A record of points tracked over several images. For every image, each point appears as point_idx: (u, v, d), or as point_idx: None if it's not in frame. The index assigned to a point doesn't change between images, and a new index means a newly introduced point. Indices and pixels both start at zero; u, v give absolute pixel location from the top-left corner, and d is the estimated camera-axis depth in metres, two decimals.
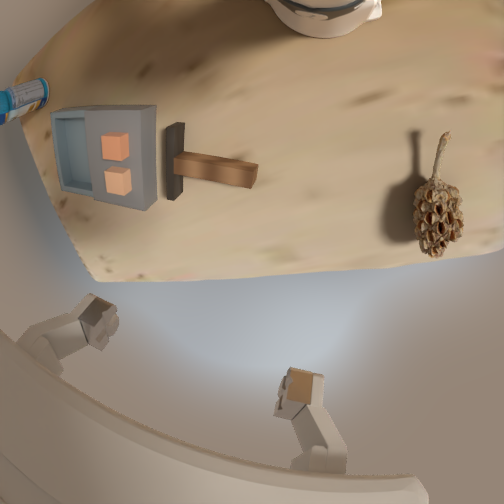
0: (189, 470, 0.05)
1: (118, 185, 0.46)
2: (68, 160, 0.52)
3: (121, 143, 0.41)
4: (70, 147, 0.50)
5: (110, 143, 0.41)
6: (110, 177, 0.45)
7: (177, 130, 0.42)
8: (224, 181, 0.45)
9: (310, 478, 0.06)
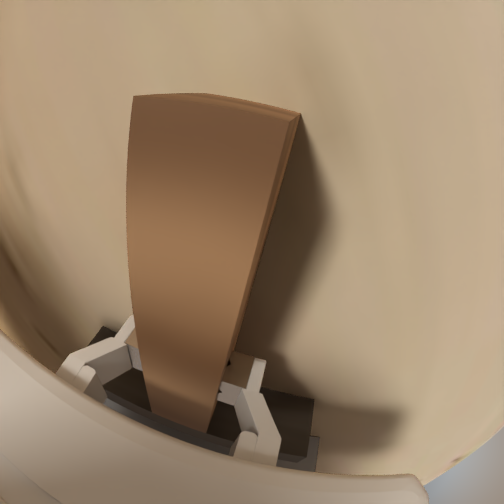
0: (189, 470, 0.05)
1: None
2: None
3: None
4: None
5: None
6: None
7: None
8: (224, 313, 0.07)
9: (310, 478, 0.06)
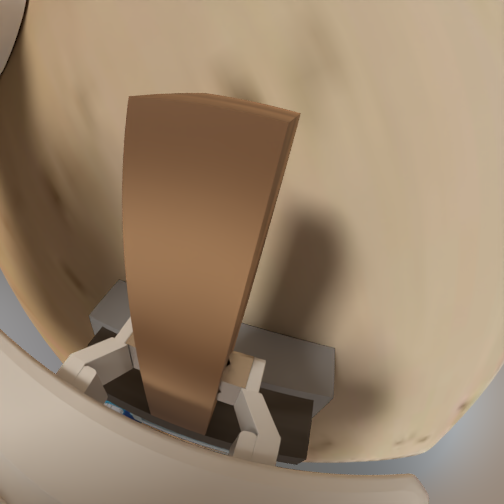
0: (189, 470, 0.05)
1: None
2: None
3: None
4: None
5: None
6: None
7: None
8: (222, 318, 0.06)
9: (310, 478, 0.06)
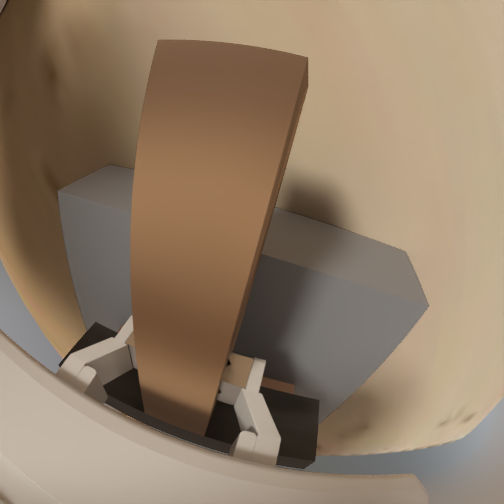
0: (189, 470, 0.05)
1: None
2: None
3: None
4: None
5: None
6: None
7: None
8: (235, 269, 0.06)
9: (310, 478, 0.06)
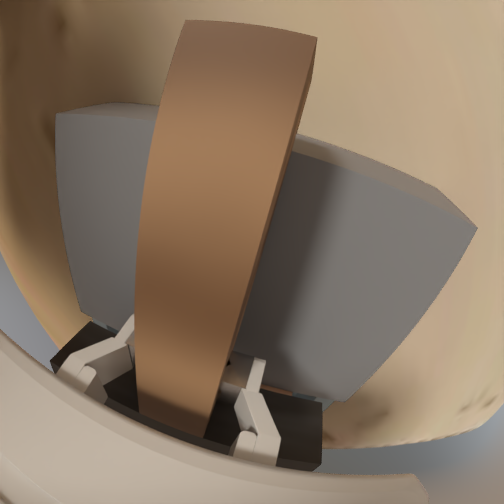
0: (189, 470, 0.05)
1: None
2: None
3: None
4: None
5: None
6: None
7: None
8: (247, 229, 0.06)
9: (310, 478, 0.06)
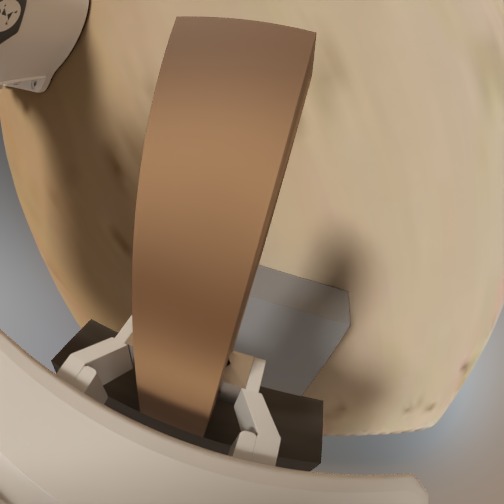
0: (189, 470, 0.05)
1: None
2: None
3: None
4: None
5: None
6: None
7: None
8: (244, 236, 0.06)
9: (310, 478, 0.06)
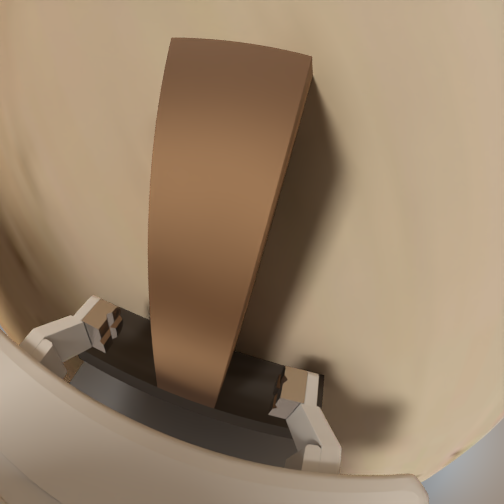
0: (189, 470, 0.05)
1: None
2: None
3: None
4: None
5: None
6: None
7: None
8: (246, 246, 0.07)
9: (310, 478, 0.06)
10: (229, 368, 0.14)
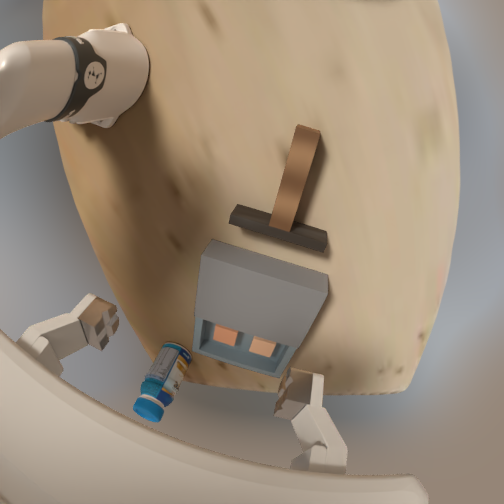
0: (189, 470, 0.05)
1: None
2: (253, 356, 0.58)
3: None
4: (239, 347, 0.58)
5: None
6: None
7: (238, 213, 0.39)
8: (307, 167, 0.33)
9: (310, 478, 0.06)
10: (291, 224, 0.40)
